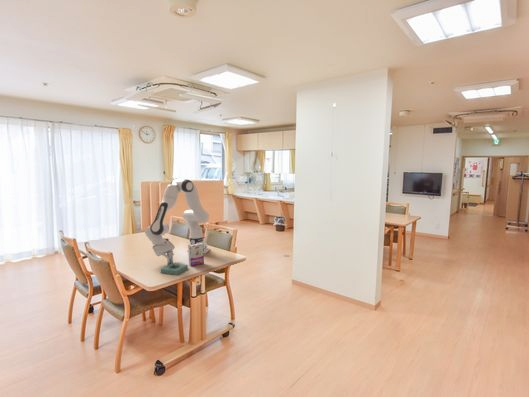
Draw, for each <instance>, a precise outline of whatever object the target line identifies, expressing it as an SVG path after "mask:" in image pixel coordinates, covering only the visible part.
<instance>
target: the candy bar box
mask: <svg viewBox="0 0 529 397" xmlns="http://www.w3.org/2000/svg"><path fill="white" fill-rule="evenodd" d="M187 246H188V247H187V248H188V249H187V250H188V252H187V254H188V266H190V267H195V266H199V265H204V264H205V262H204V261H205V258H204V257H205V256H204V254H205V253H204V249H203V244H202V243H198V244H192V245H189V244H188V245H187Z"/></svg>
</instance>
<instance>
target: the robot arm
mask: <svg viewBox="0 0 529 397" xmlns="http://www.w3.org/2000/svg"><path fill="white" fill-rule="evenodd" d="M180 192H181V193H184V195H185V196H184V197H185V200H186V204H187V207H189V208H190V209H186V210H185V211H184V212H183V215H182V217H183V220H185V222H186V223H187V226H188V228H189V242H188V245H192V244H198V243H202V244H203V249H204V254H207V253H208V251H210V250H211V248H210V247H208V243H207V242H206V241H205V240H204V239H205V235H204V236H203V228H202V226H200V224H203V223H207V222H208V221H209V218H210V214H209V213H208V211H206V210H205V209H204V208H203V206H202V204H201V201H200V197H199V191H198V190H197V187H196V184H194V183H193V182H192V181H191V180H190V179H185V178H174V179H172V180H171V182H169V184H168V185H167V186H166V188H165V190H164V192H163V196H162V198H161V202H160V205H159V207H158V209H157V212H156V216H155V217H154V220H153V222H152V223H151V225H149V226H148V227H146V228H145V231H144V234H145V236H146V237H147V239H148V240H149V241H150V242H151V244H152V250H153V252H154V254H155V255H156V256H157V257H160V256H163V257H165V258H166V259H167V258H169V256H168V255H167V252H168V251H174V250H175V249H176V248H175V245H174V244H173V242H171V240H170V239H169V238H168V237H167V238H166V237H164V238H163V236H164V235H166V234H167V233H168V232H169V231H170V226H169V224H167V223H166V222H164V220H165V217H166V214H167V212H168V211H169V210H170V209H173V208H174V207H175V206H176V203H177V201H178V200H177V199H178V196H179V193H180ZM186 252H187V253H188V249H187V251H186ZM174 255H175V253H174V252H173V256H174Z"/></svg>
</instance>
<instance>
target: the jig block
mask: <svg viewBox="0 0 529 397" xmlns="http://www.w3.org/2000/svg"><path fill="white" fill-rule="evenodd" d="M188 266H189V264H183V263H175V262H173V263H171V264H169V265H167V264H166V265H165V266H163V267H161V268H160V273H161V274H169V275H176V276H177V275H180V274H181V273H183V272H185V271H186V270H188V269H189V267H188Z"/></svg>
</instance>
